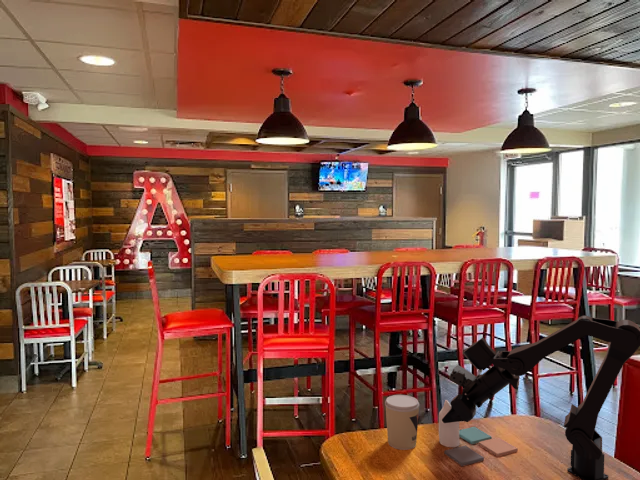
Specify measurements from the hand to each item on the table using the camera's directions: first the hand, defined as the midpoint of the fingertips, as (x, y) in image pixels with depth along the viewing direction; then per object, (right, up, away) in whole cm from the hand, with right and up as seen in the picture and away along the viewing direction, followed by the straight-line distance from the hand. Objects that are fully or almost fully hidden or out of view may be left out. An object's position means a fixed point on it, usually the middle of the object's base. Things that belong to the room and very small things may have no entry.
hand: (447, 415), depth 133 cm
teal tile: (+8, -7, +4) cm, 12 cm away
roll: (0, -8, 0) cm, 8 cm away
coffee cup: (-13, -8, 0) cm, 15 cm away
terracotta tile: (+13, -8, -3) cm, 15 cm away
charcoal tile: (+2, -8, -8) cm, 11 cm away
